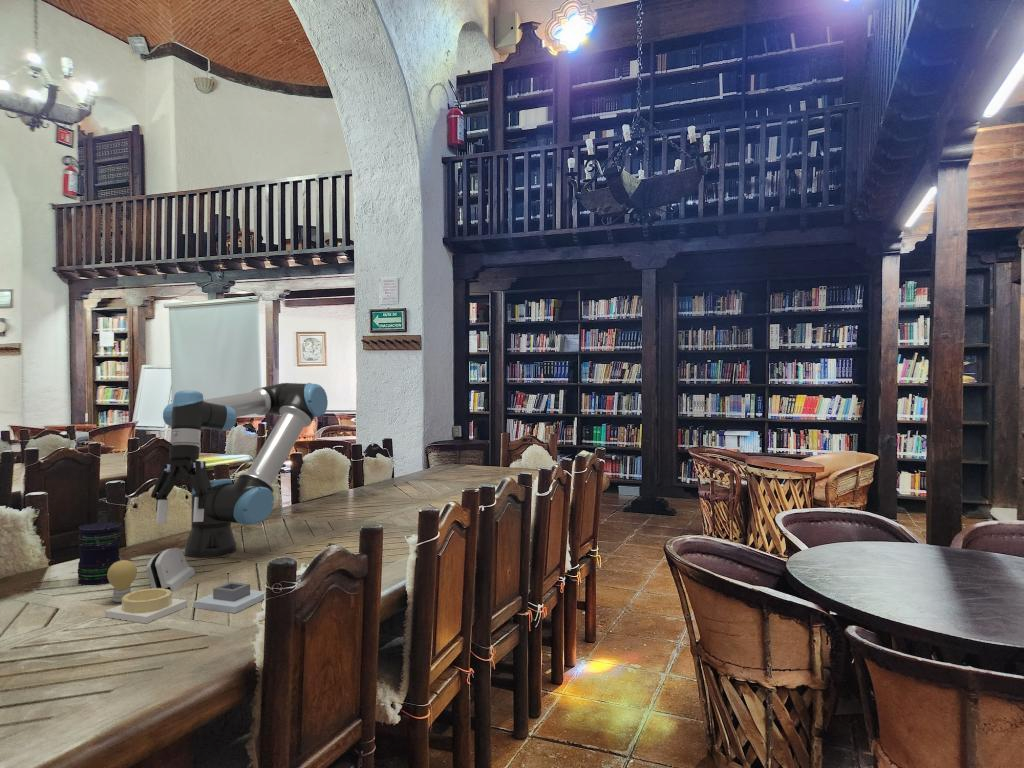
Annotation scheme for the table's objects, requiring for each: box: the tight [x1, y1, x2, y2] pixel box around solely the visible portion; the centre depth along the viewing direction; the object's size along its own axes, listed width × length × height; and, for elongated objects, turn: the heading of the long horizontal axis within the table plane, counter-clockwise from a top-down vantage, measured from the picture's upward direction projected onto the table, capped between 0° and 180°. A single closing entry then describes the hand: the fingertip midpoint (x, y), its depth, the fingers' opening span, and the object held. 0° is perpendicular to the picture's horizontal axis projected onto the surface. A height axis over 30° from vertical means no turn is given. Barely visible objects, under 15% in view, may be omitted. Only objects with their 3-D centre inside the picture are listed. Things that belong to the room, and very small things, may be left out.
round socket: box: [104, 588, 188, 624], centre depth 153 cm, size 12×12×4 cm
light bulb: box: [107, 559, 138, 603], centre depth 160 cm, size 6×6×10 cm
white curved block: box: [145, 547, 196, 592], centre depth 176 cm, size 17×5×10 cm, turn 7°
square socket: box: [193, 581, 265, 614], centre depth 161 cm, size 12×12×4 cm
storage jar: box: [77, 521, 122, 586], centre depth 177 cm, size 10×10×15 cm
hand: (179, 522), depth 177 cm, fingers open, 13 cm apart
